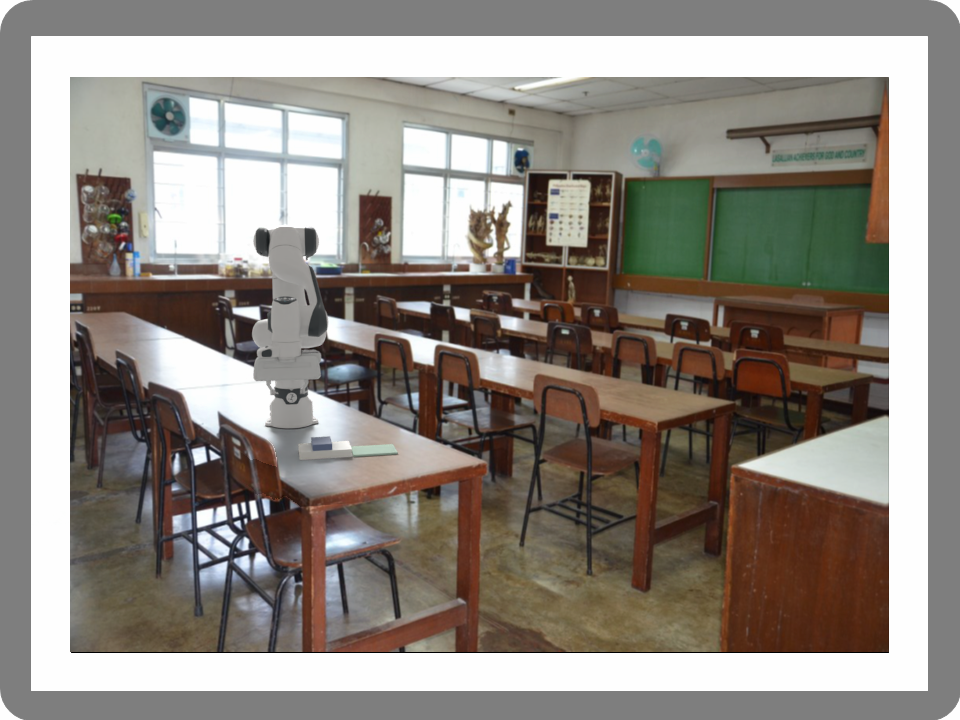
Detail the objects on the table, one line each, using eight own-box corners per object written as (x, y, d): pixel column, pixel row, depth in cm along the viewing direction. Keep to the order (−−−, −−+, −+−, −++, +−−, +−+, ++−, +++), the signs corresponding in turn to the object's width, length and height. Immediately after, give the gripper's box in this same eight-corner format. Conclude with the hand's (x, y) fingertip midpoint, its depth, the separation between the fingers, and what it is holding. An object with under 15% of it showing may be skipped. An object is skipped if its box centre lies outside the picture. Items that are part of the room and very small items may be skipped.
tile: (311, 443, 252) (311, 437, 252) (330, 442, 254) (330, 436, 254) (312, 451, 244) (312, 444, 244) (332, 449, 245) (332, 443, 245)
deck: (298, 451, 252) (298, 443, 252) (348, 448, 256) (348, 440, 256) (299, 460, 243) (299, 452, 242) (351, 456, 247) (351, 449, 246)
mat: (350, 448, 256) (350, 446, 256) (393, 445, 260) (393, 444, 260) (353, 456, 247) (353, 454, 247) (397, 454, 251) (397, 452, 250)
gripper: (320, 347, 247) (321, 391, 249) (252, 349, 242) (254, 393, 244) (321, 350, 241) (322, 394, 243) (252, 352, 236) (253, 397, 238)
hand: (287, 394), depth 243 cm, fingers open, 8 cm apart
